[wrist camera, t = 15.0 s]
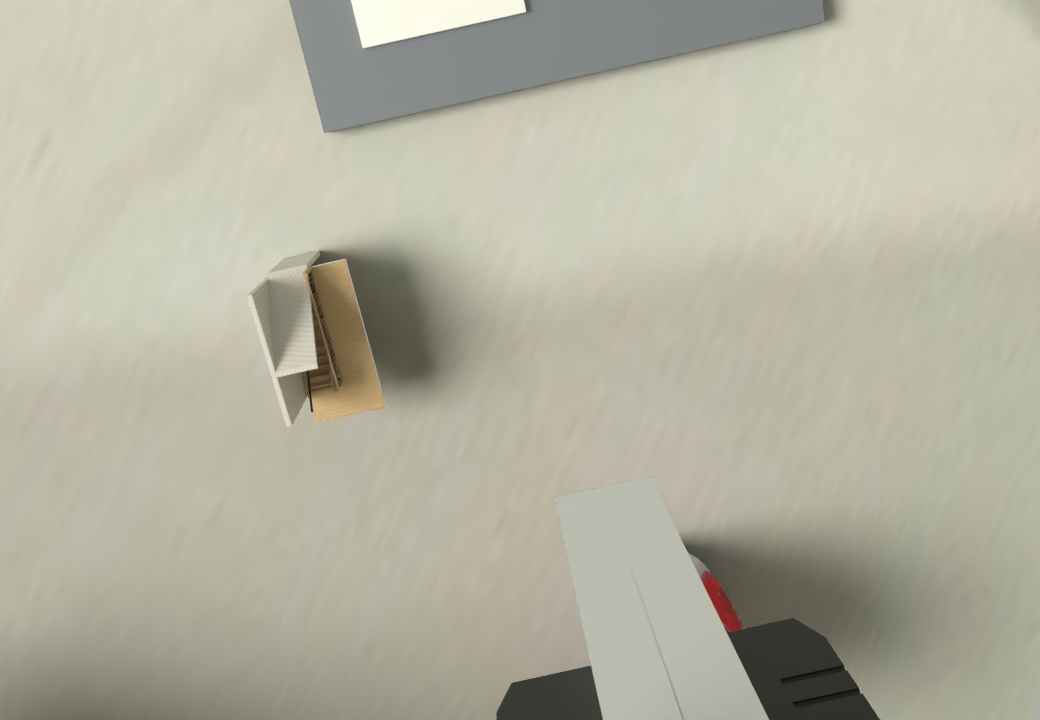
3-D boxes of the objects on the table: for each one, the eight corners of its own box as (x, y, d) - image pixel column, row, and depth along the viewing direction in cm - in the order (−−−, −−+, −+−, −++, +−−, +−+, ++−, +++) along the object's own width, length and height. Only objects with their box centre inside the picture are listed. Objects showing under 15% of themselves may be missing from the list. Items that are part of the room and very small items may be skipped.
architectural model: (353, 241, 44) (331, 270, 37) (391, 382, 46) (377, 436, 39) (280, 258, 44) (244, 290, 37) (321, 398, 46) (295, 454, 39)
